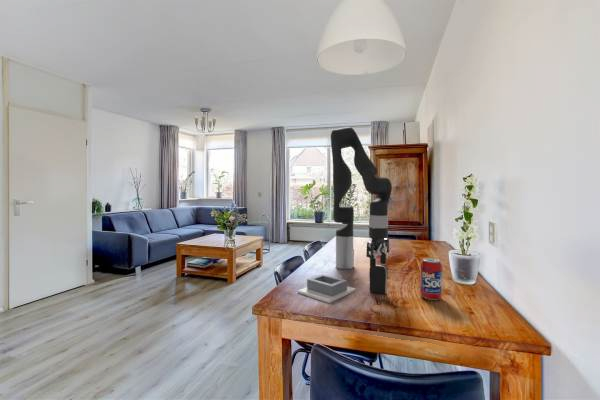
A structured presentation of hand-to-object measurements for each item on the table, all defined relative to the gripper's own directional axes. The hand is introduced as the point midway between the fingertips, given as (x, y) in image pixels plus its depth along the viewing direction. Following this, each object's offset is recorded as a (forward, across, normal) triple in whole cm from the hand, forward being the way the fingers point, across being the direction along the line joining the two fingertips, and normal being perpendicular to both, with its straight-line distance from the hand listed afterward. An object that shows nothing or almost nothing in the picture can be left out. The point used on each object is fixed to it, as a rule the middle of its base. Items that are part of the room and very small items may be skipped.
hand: (378, 265), depth 121 cm
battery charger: (+11, -1, 0) cm, 11 cm away
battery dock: (+11, +14, -16) cm, 24 cm away
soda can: (+11, -9, +18) cm, 23 cm away
